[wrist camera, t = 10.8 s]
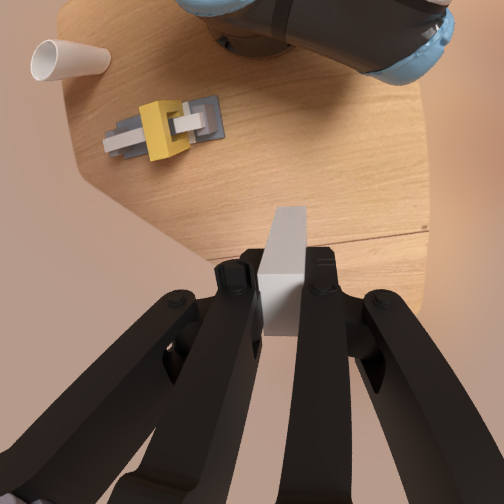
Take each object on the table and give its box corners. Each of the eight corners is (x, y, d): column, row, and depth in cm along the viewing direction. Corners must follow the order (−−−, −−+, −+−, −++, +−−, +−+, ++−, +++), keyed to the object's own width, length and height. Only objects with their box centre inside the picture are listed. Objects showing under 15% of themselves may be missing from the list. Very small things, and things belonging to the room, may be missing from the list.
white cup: (121, 61, 41) (63, 58, 28) (96, 85, 43) (38, 90, 30) (106, 37, 39) (49, 30, 26) (82, 61, 41) (25, 62, 28)
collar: (164, 104, 42) (138, 106, 35) (181, 99, 41) (157, 100, 34) (173, 150, 46) (150, 161, 39) (190, 147, 45) (169, 157, 38)
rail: (118, 122, 46) (94, 127, 40) (217, 95, 42) (202, 94, 36) (126, 158, 50) (103, 168, 43) (225, 137, 45) (211, 143, 39)
